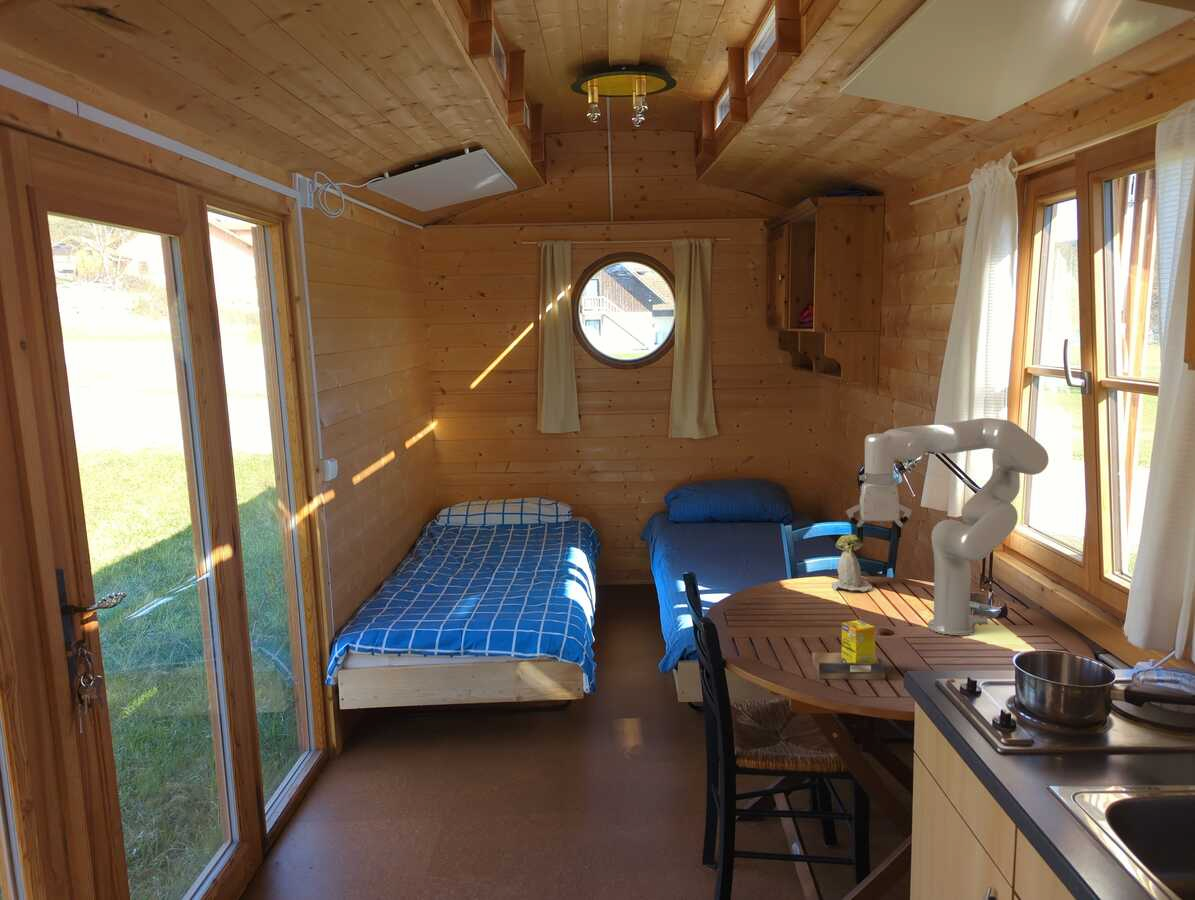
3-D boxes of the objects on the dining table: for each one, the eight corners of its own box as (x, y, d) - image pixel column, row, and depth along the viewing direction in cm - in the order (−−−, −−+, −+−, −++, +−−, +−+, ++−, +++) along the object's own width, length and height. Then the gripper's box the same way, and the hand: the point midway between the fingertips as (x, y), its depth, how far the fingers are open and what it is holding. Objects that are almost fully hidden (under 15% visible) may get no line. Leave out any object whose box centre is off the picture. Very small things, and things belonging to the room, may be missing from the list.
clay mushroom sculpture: (868, 595, 282) (868, 540, 279) (828, 591, 288) (828, 537, 285) (874, 585, 292) (874, 532, 290) (835, 581, 298) (835, 529, 296)
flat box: (873, 658, 229) (874, 643, 228) (885, 679, 215) (885, 664, 215) (812, 658, 231) (812, 643, 230) (819, 679, 217) (819, 663, 216)
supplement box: (841, 663, 222) (841, 622, 221) (860, 659, 224) (860, 619, 223) (855, 671, 217) (855, 629, 215) (875, 667, 219) (875, 626, 218)
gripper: (848, 482, 234) (848, 543, 237) (915, 480, 232) (914, 543, 235) (844, 477, 242) (844, 537, 244) (908, 476, 240) (907, 536, 242)
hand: (878, 540), depth 239 cm, fingers open, 9 cm apart
